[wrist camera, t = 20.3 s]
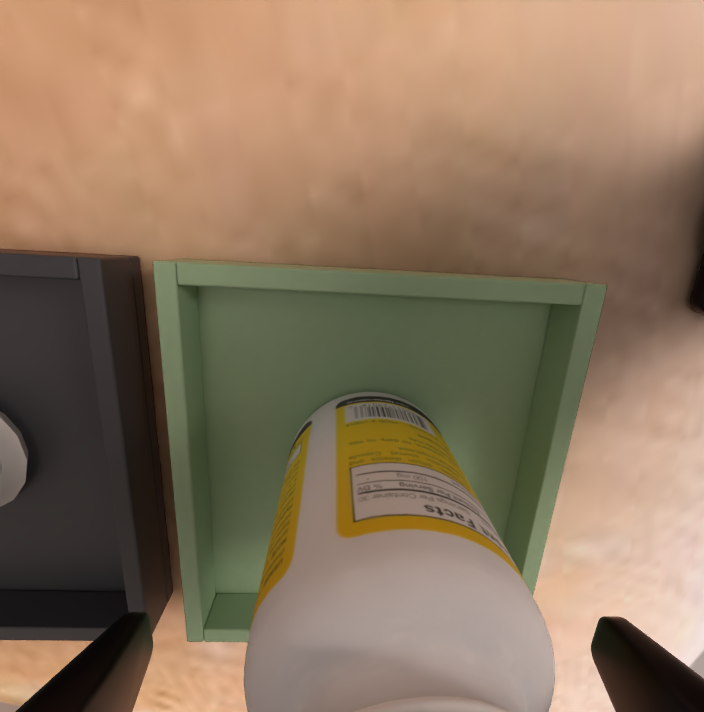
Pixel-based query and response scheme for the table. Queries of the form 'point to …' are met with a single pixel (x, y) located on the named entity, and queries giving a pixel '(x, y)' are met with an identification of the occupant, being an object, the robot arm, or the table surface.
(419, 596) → the supplement bottle
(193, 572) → the green tray
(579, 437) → the table surface
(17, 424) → the charcoal tray
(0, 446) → the rook chess piece
